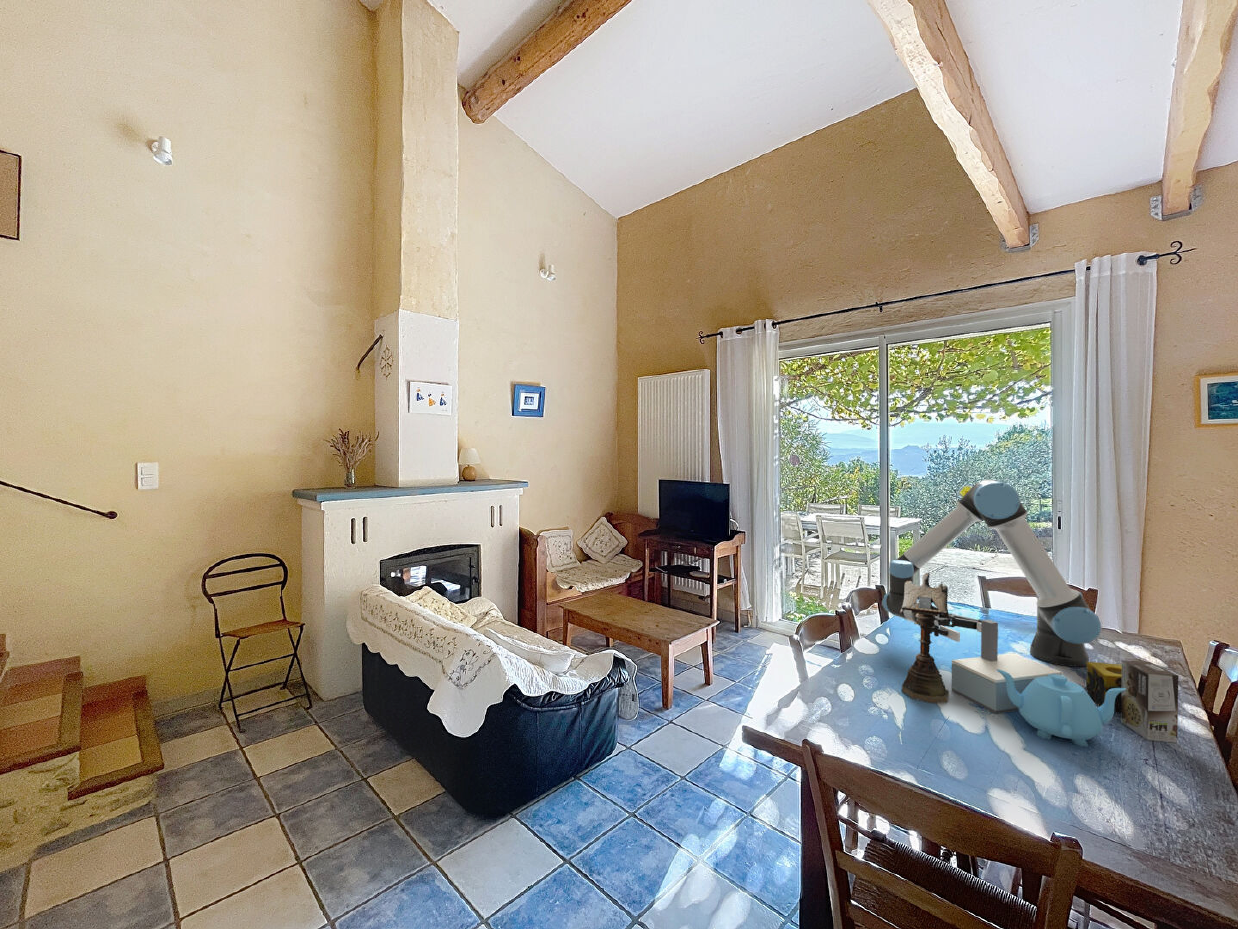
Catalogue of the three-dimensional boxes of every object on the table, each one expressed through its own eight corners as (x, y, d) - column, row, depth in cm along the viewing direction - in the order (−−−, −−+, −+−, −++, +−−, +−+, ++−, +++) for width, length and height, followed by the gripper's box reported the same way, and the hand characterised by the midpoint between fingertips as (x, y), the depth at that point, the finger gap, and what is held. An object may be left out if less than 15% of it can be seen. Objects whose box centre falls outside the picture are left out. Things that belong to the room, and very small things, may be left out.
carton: (1012, 683, 158) (1013, 656, 158) (1061, 704, 145) (1061, 675, 144) (951, 690, 153) (951, 663, 153) (995, 714, 140) (996, 683, 140)
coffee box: (1179, 743, 125) (1180, 676, 125) (1147, 740, 127) (1148, 673, 126) (1149, 724, 134) (1150, 661, 134) (1119, 721, 136) (1120, 659, 135)
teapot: (1126, 747, 124) (1127, 687, 124) (1056, 755, 121) (1057, 694, 120) (1057, 713, 140) (1058, 660, 140) (994, 720, 137) (994, 666, 136)
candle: (1130, 700, 147) (1130, 665, 147) (1153, 718, 137) (1153, 679, 137) (1084, 695, 150) (1085, 660, 150) (1104, 712, 141) (1104, 674, 141)
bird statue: (953, 716, 139) (954, 583, 138) (897, 702, 146) (898, 576, 145) (956, 692, 152) (958, 571, 151) (905, 681, 160) (906, 565, 159)
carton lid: (1013, 655, 158) (1013, 616, 158) (1062, 675, 144) (1062, 632, 144) (951, 662, 153) (952, 622, 153) (996, 683, 140) (996, 638, 139)
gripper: (953, 622, 180) (1012, 644, 159) (890, 628, 175) (942, 651, 154) (953, 600, 180) (1012, 619, 159) (890, 605, 174) (942, 625, 154)
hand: (978, 635), depth 156 cm, fingers open, 13 cm apart
